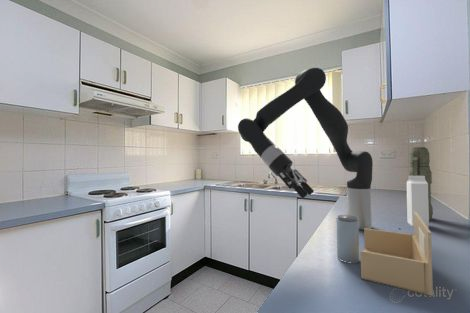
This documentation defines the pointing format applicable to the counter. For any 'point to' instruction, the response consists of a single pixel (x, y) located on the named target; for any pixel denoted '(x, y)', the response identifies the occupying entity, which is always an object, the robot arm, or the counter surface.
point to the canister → (348, 238)
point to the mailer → (399, 258)
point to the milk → (417, 199)
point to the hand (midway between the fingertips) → (308, 194)
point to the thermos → (422, 169)
